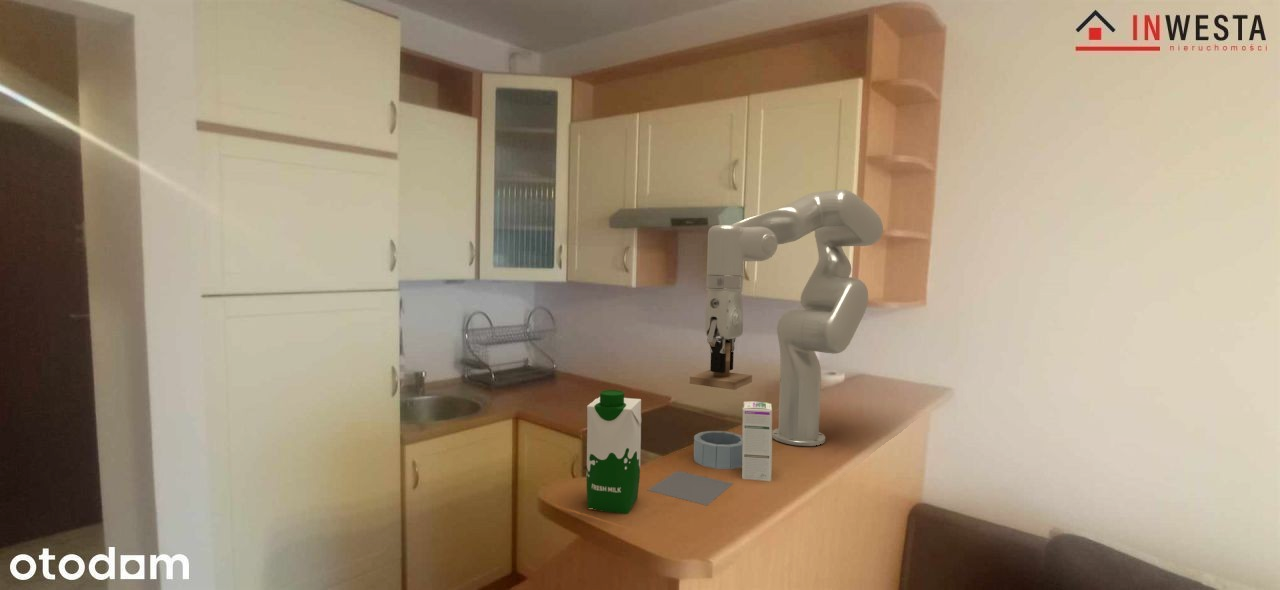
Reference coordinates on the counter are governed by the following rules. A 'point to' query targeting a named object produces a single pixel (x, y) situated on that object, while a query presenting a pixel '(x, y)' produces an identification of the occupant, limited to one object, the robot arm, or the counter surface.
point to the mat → (691, 487)
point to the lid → (722, 376)
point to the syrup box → (757, 441)
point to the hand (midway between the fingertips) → (721, 369)
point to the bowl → (718, 449)
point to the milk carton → (613, 452)
